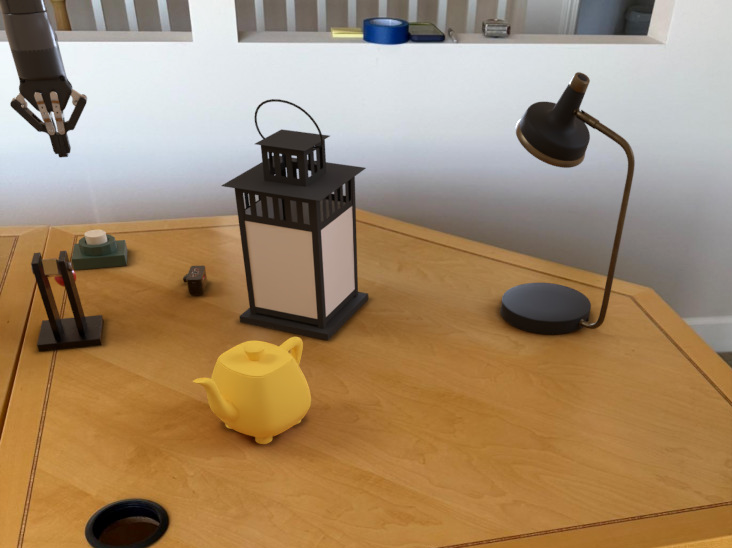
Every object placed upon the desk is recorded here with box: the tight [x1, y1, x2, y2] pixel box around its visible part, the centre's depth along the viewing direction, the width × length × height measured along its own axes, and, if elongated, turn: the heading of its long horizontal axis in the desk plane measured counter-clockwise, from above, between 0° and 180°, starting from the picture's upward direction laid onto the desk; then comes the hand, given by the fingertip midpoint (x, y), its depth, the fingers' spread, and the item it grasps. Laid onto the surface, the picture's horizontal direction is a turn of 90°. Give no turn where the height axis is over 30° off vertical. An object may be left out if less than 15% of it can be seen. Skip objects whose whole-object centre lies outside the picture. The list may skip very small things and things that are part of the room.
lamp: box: [499, 71, 636, 336], centre depth 127 cm, size 16×22×38 cm
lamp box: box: [71, 233, 129, 271], centre depth 155 cm, size 10×8×4 cm
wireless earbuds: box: [182, 265, 208, 296], centre depth 146 cm, size 5×7×3 cm, turn 3°
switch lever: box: [42, 257, 77, 288], centre depth 129 cm, size 13×4×4 cm
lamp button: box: [84, 229, 107, 245], centre depth 153 cm, size 4×4×2 cm
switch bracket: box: [30, 250, 105, 352], centre depth 128 cm, size 9×10×14 cm
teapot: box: [192, 336, 312, 445], centre depth 109 cm, size 13×20×12 cm
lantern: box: [221, 98, 369, 341], centre depth 129 cm, size 17×17×35 cm
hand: (64, 155), depth 139 cm, fingers closed
